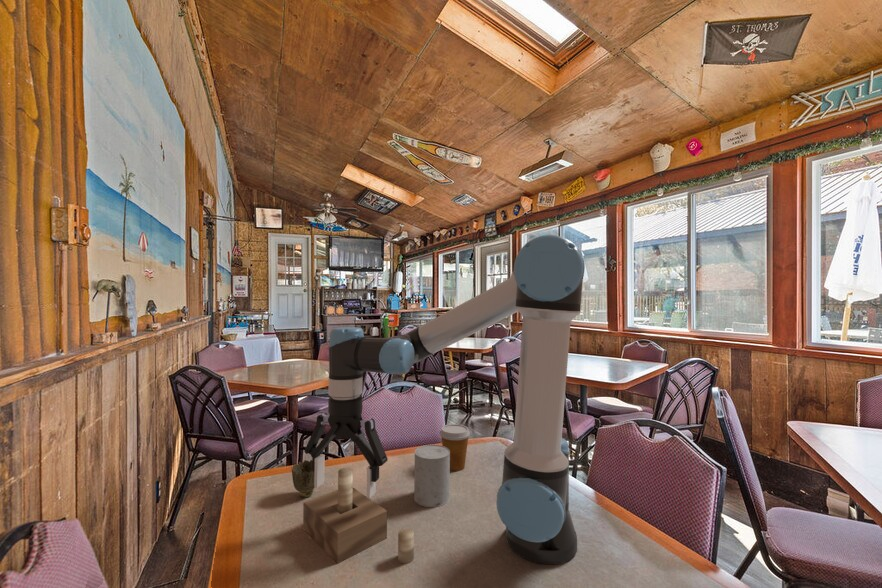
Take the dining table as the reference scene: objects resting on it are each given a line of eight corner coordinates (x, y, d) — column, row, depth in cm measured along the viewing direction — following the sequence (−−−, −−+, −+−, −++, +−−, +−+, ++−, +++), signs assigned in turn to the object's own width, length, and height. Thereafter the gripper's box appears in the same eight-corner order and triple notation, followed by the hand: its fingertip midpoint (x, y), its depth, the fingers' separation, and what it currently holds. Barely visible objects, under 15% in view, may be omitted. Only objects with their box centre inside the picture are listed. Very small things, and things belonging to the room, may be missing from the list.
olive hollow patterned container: (284, 499, 101) (285, 468, 101) (303, 486, 108) (303, 457, 108) (308, 504, 98) (308, 473, 98) (325, 491, 105) (326, 461, 105)
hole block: (386, 538, 85) (387, 510, 85) (337, 563, 77) (338, 533, 77) (349, 509, 96) (349, 485, 96) (303, 528, 88) (303, 502, 88)
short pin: (416, 558, 78) (417, 533, 78) (404, 565, 76) (404, 540, 76) (407, 550, 81) (407, 527, 81) (394, 557, 78) (395, 533, 79)
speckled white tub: (446, 509, 97) (446, 460, 97) (409, 505, 99) (410, 457, 99) (452, 490, 106) (452, 446, 106) (419, 487, 108) (419, 443, 108)
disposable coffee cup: (474, 464, 123) (475, 427, 123) (460, 476, 115) (460, 436, 115) (449, 458, 128) (449, 421, 128) (433, 468, 120) (434, 430, 120)
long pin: (354, 533, 87) (355, 470, 87) (342, 539, 84) (342, 475, 85) (347, 527, 89) (348, 466, 89) (334, 532, 87) (335, 470, 87)
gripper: (402, 396, 86) (401, 491, 86) (310, 387, 95) (309, 473, 94) (387, 405, 79) (386, 508, 79) (289, 394, 87) (288, 488, 87)
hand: (344, 490), depth 87 cm, fingers open, 13 cm apart
